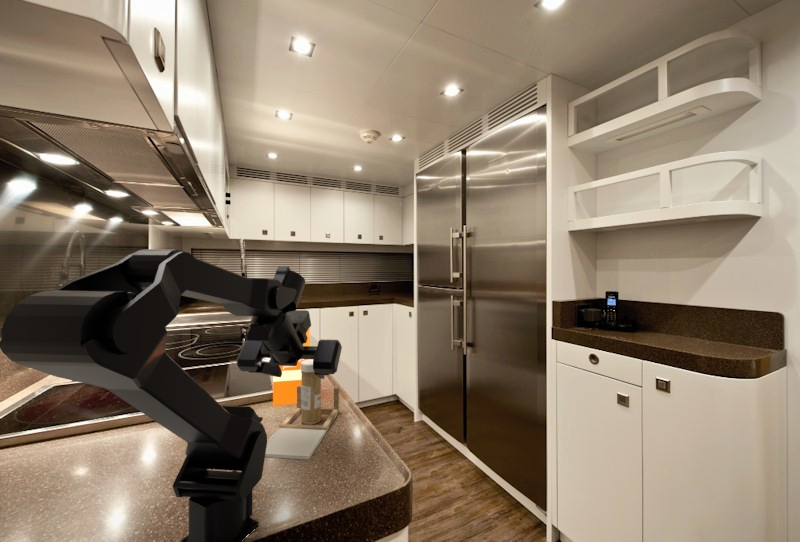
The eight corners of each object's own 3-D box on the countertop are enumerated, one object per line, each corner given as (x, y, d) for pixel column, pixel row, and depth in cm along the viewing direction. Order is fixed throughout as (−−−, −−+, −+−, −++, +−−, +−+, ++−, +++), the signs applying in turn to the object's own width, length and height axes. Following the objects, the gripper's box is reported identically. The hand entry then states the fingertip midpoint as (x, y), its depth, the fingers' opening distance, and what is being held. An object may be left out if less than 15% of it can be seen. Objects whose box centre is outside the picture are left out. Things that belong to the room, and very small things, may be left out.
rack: (325, 432, 68) (325, 404, 68) (279, 430, 68) (279, 402, 68) (338, 412, 78) (339, 387, 78) (298, 410, 78) (298, 385, 78)
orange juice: (276, 394, 88) (276, 321, 88) (310, 391, 91) (310, 320, 91) (272, 406, 81) (273, 325, 81) (309, 402, 83) (309, 324, 83)
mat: (309, 459, 58) (309, 456, 58) (255, 456, 59) (255, 453, 59) (326, 431, 68) (326, 429, 68) (280, 429, 69) (280, 426, 69)
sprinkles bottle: (324, 422, 72) (324, 361, 72) (304, 427, 70) (304, 365, 70) (317, 414, 76) (317, 357, 76) (297, 419, 74) (298, 360, 74)
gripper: (339, 298, 61) (352, 343, 73) (245, 297, 63) (272, 341, 74) (326, 350, 54) (343, 392, 65) (219, 347, 55) (253, 388, 66)
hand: (302, 375), depth 68 cm, fingers open, 9 cm apart
